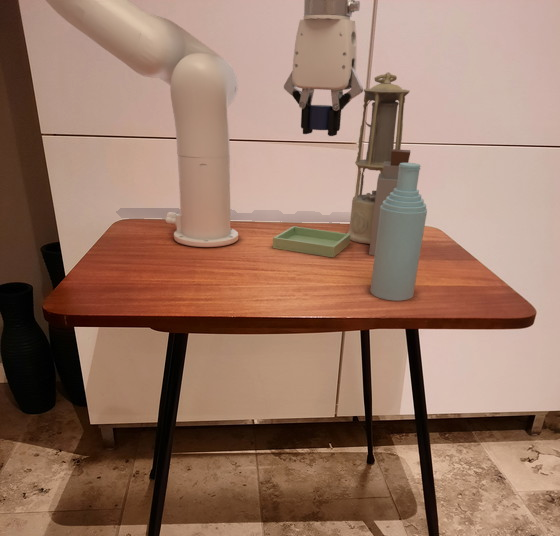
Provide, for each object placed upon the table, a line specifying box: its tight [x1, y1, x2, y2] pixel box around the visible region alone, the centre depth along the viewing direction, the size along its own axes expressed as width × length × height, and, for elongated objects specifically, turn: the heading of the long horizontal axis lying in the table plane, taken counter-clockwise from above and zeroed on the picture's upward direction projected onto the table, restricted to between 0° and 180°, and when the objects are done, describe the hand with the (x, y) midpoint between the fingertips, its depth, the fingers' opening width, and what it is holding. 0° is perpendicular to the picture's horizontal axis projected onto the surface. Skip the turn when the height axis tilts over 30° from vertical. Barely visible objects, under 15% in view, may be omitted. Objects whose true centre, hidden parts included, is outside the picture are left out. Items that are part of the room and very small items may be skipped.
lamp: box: [346, 72, 411, 245], centre depth 106 cm, size 10×13×30 cm
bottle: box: [369, 162, 428, 302], centre depth 80 cm, size 7×7×19 cm
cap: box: [309, 104, 332, 131], centre depth 95 cm, size 4×4×4 cm
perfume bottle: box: [368, 148, 411, 256], centre depth 100 cm, size 7×7×18 cm
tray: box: [272, 225, 351, 258], centre depth 105 cm, size 12×10×2 cm
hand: (319, 133), depth 96 cm, fingers closed on cap, 4 cm apart
